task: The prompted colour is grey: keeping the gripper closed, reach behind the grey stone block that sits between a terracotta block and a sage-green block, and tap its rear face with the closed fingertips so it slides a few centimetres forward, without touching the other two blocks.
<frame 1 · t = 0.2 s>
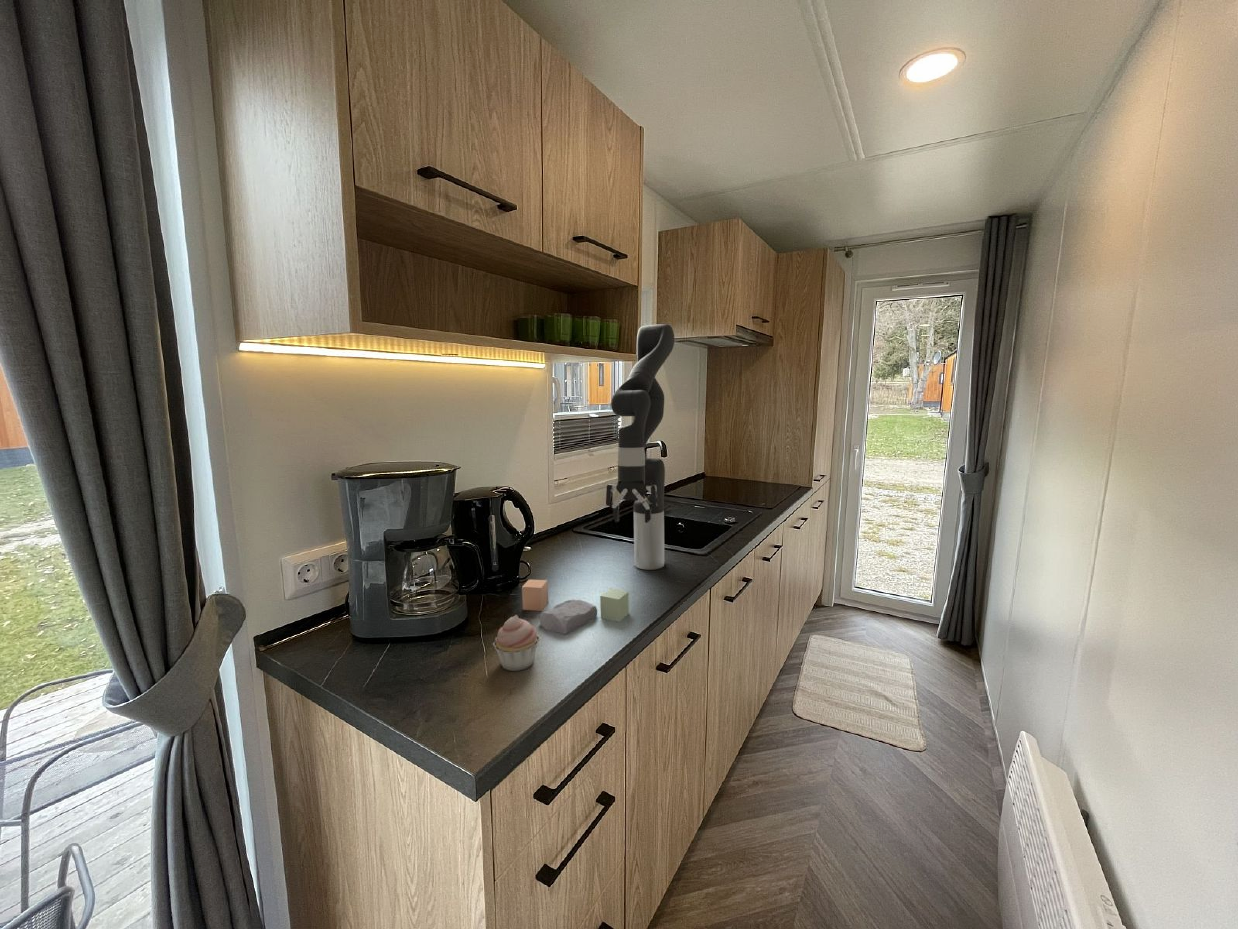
hand: (631, 521, 138), 17 cm above the worktop, tool pointing down, fingers open, 8 cm apart
stone block: (567, 622, 118), on the worktop
sage block: (615, 615, 120), on the worktop
terracotta block: (535, 606, 126), on the worktop
cupcake: (518, 663, 100), on the worktop
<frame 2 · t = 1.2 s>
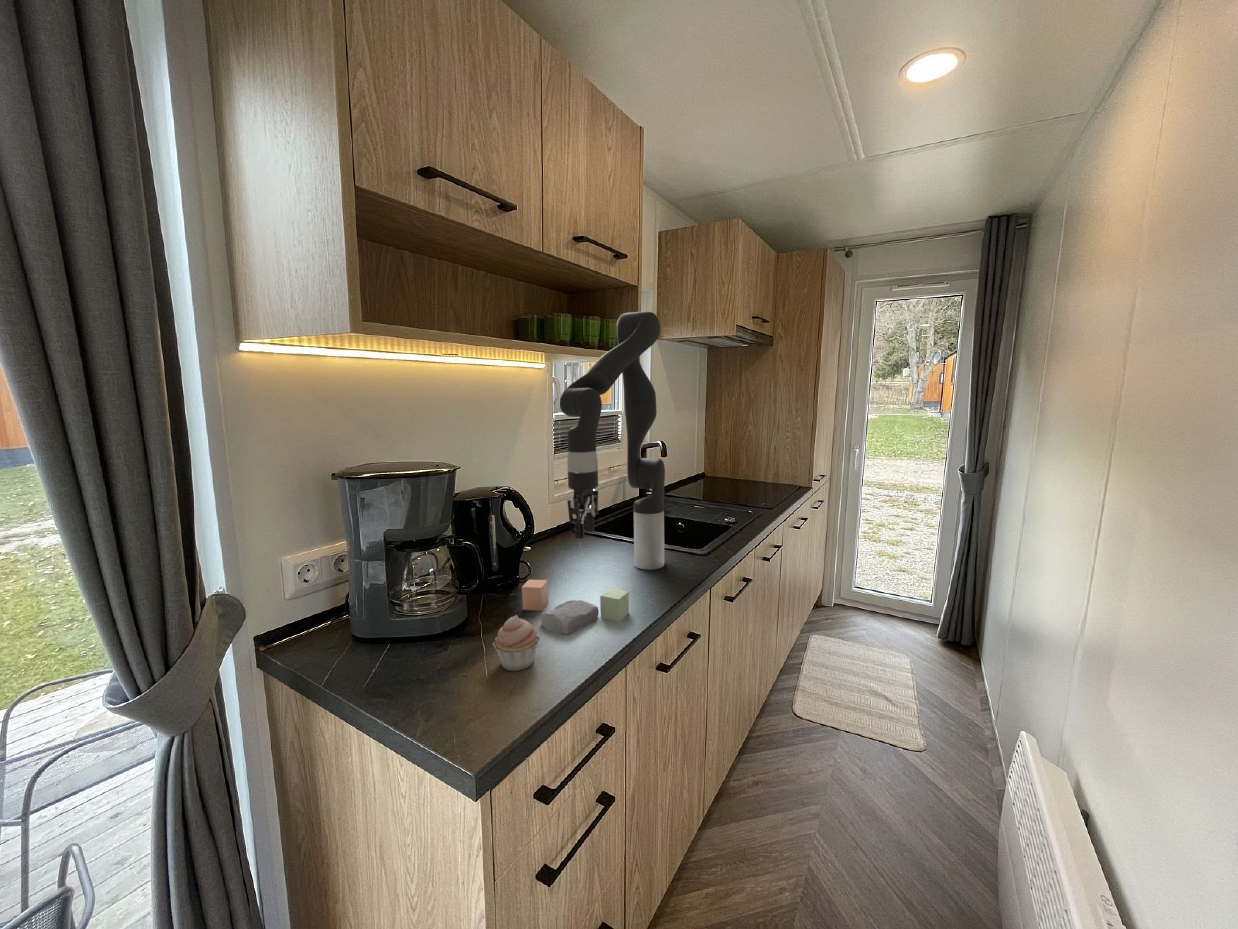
hand: (584, 534, 126), 18 cm above the worktop, tool pointing down, fingers open, 5 cm apart
nothing on the worktop moved.
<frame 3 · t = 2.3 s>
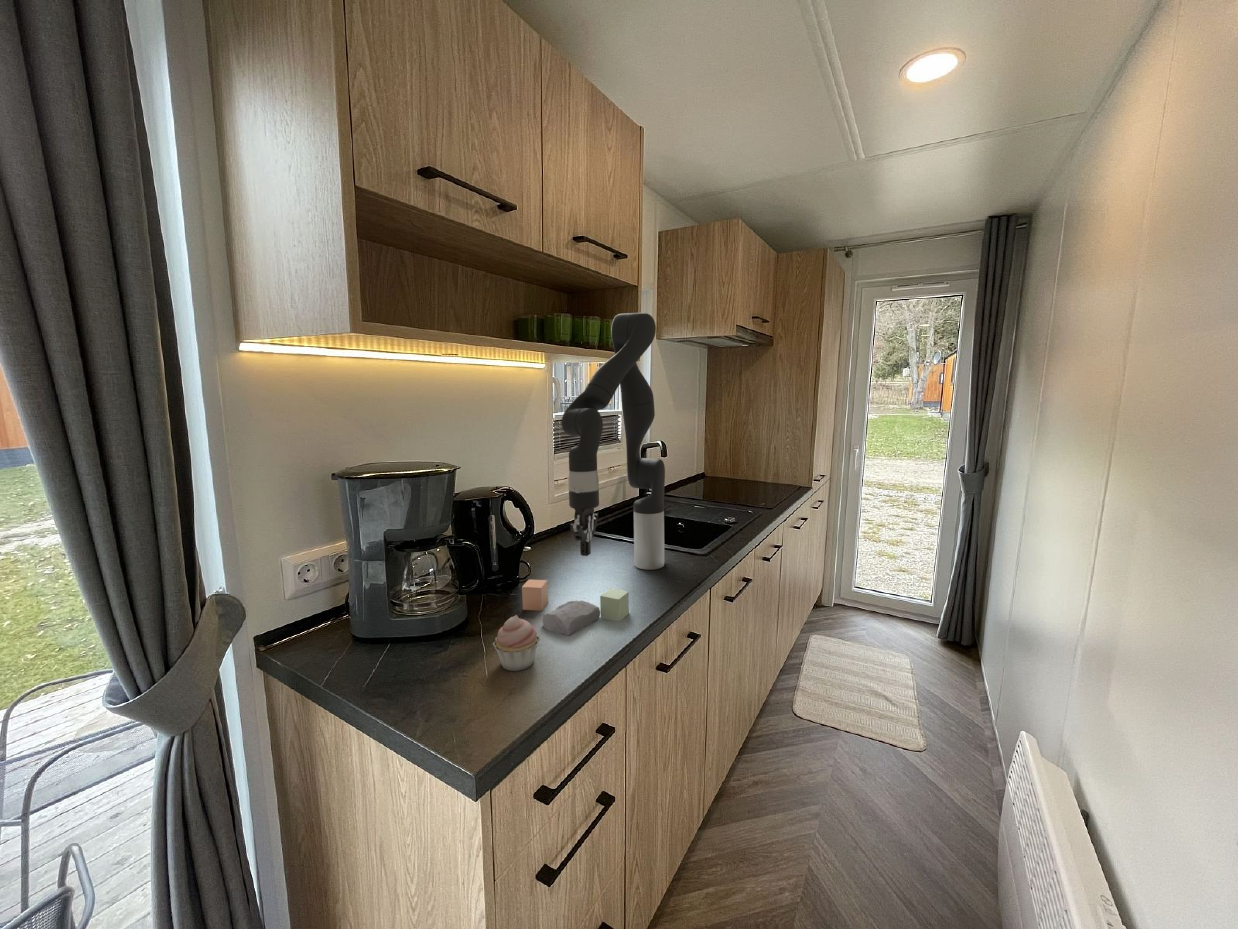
hand: (585, 554, 127), 12 cm above the worktop, tool pointing down, fingers closed
nothing on the worktop moved.
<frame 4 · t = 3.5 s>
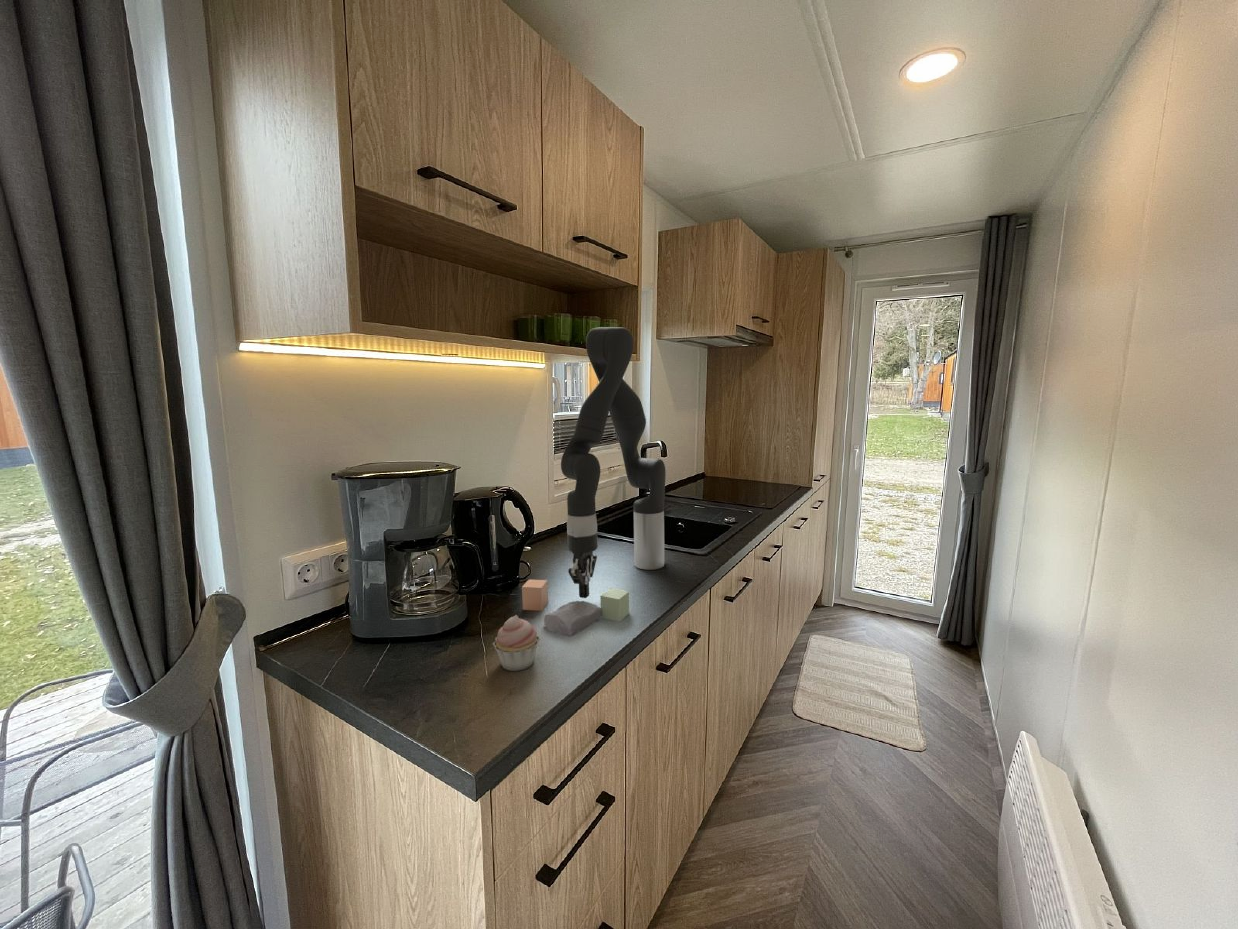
hand: (584, 596, 128), 1 cm above the worktop, tool pointing down, fingers closed
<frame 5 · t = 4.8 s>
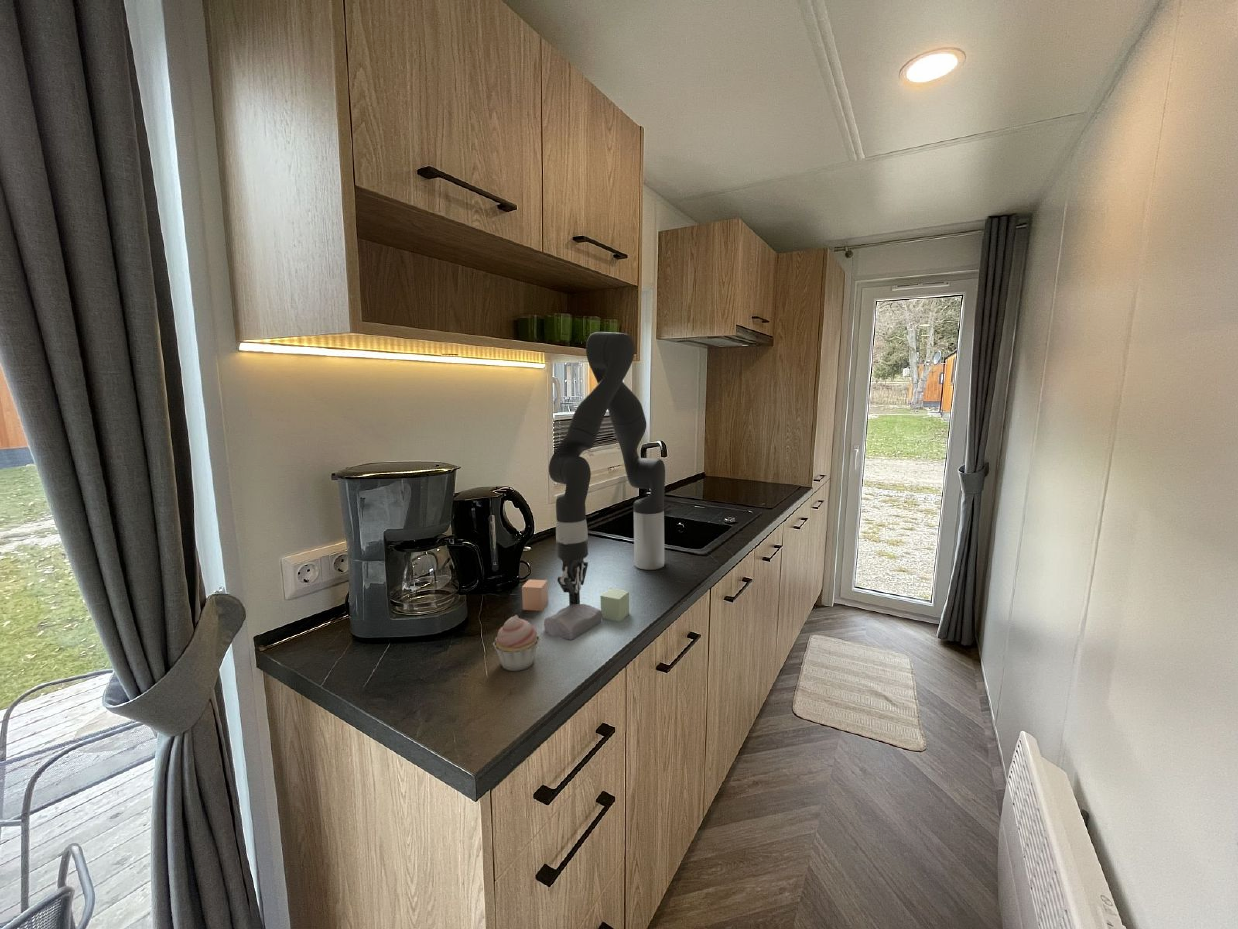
hand: (574, 605, 122), 1 cm above the worktop, tool pointing down, fingers closed
stone block: (571, 627, 115), on the worktop
everything else where it was.
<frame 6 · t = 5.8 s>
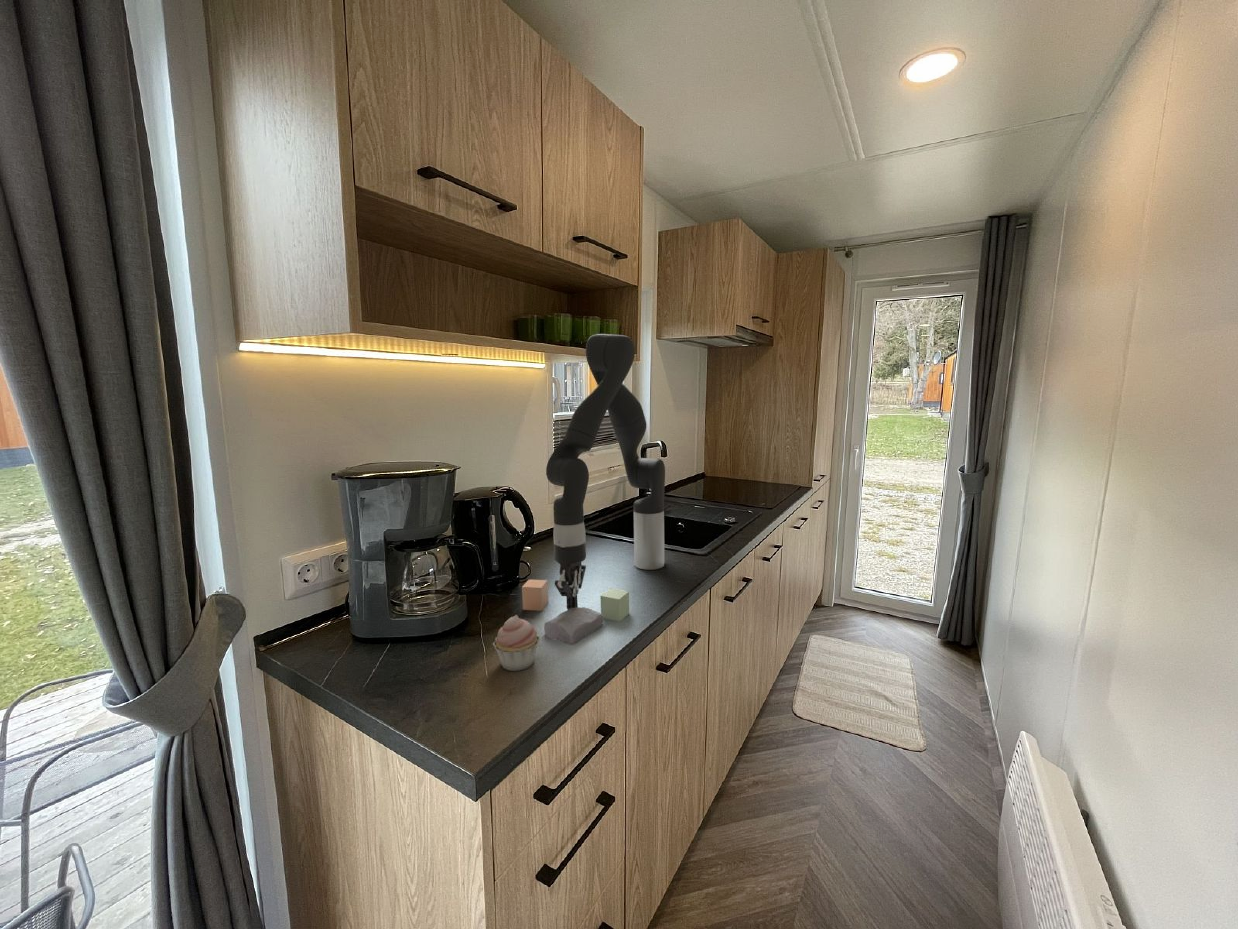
hand: (572, 609, 121), 1 cm above the worktop, tool pointing down, fingers closed
stone block: (572, 631, 113), on the worktop
everything else where it was.
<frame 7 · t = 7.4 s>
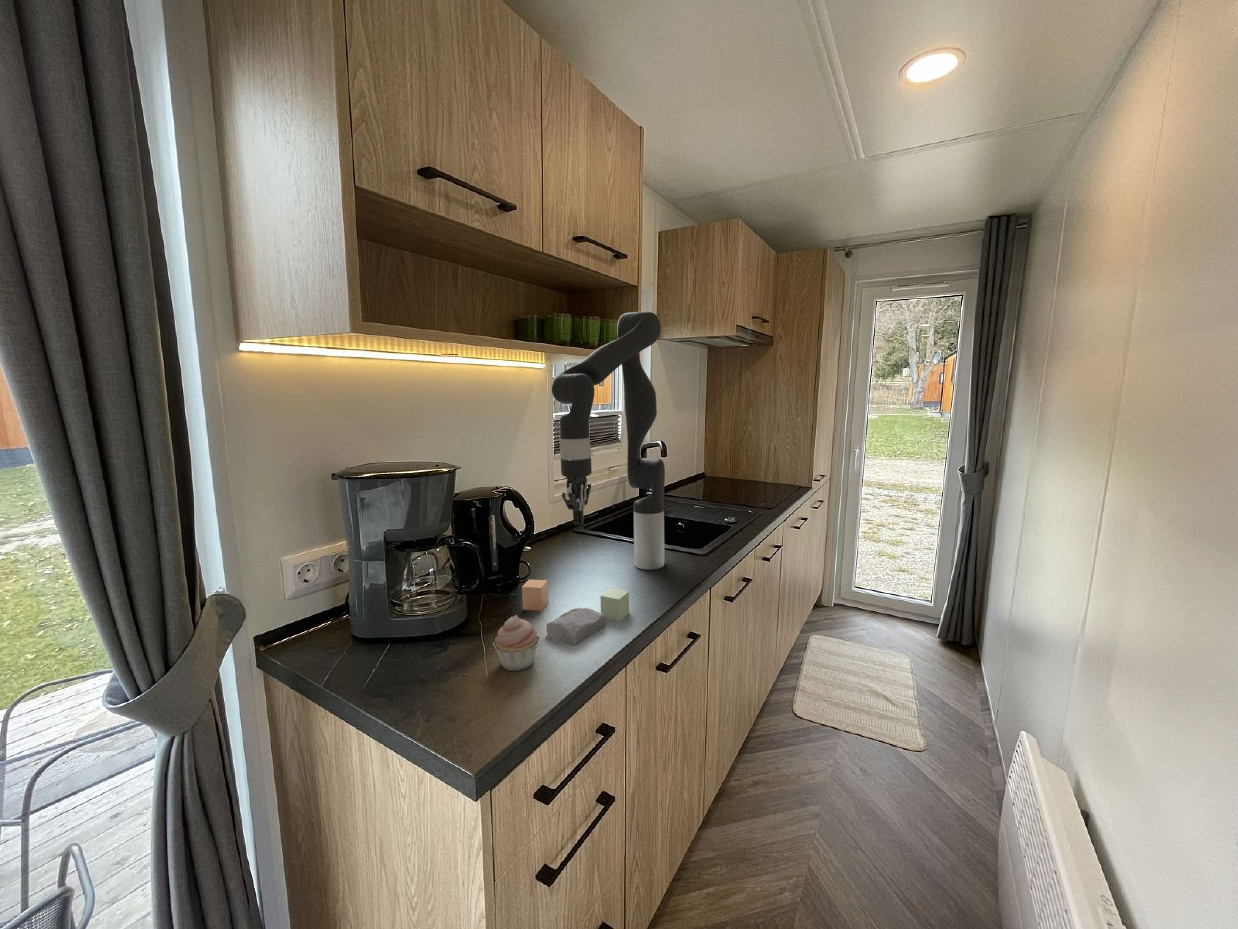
hand: (578, 524, 125), 20 cm above the worktop, tool pointing down, fingers closed
nothing on the worktop moved.
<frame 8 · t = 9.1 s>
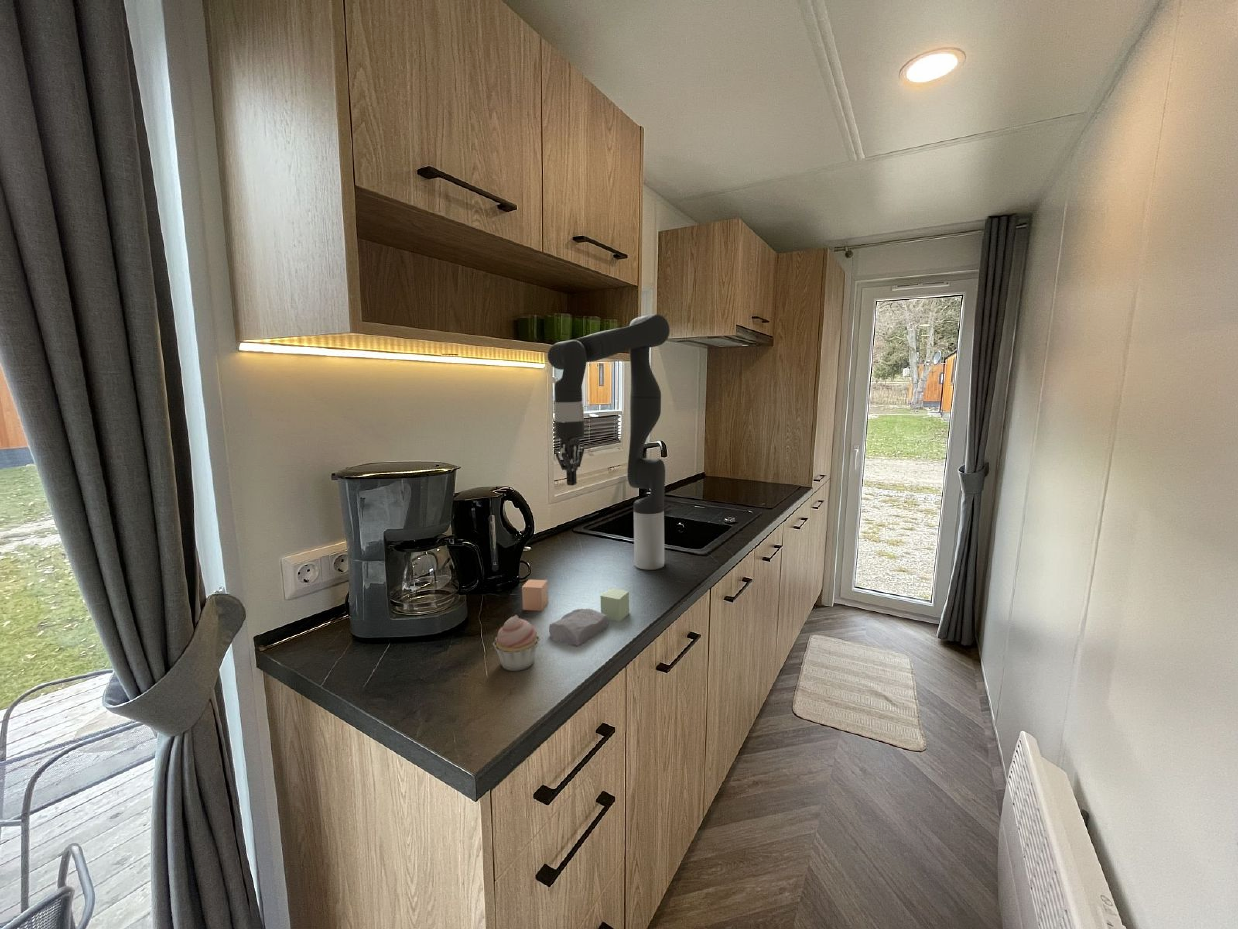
hand: (571, 484, 133), 29 cm above the worktop, tool pointing down, fingers closed
at the end: stone block inside the target area (5.6 cm from its centre), on the worktop; terracotta block moved 0.1 cm from its start; sage block moved 0.1 cm from its start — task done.
